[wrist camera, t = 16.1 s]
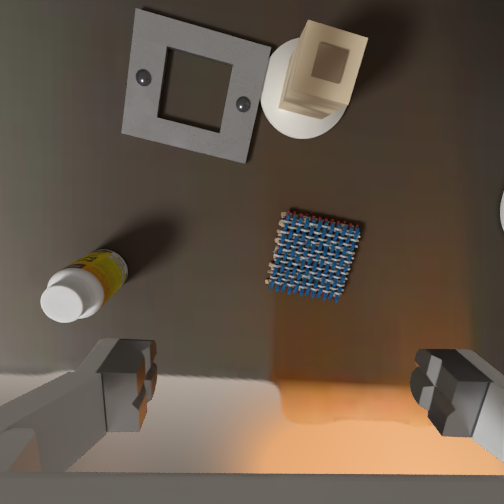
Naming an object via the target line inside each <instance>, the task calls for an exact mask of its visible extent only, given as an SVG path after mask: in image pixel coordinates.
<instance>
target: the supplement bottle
mask: <svg viewBox="0 0 504 504" xmlns="http://www.w3.org/2000/svg"><path fill="white" fill-rule="evenodd" d="M127 275H128V269H127V265H126V263H125V261H124V260H123V258H122V257H121V256H120V255H118V254H117V253H115V252H113V251H110V250H105V249H100V250H96V251H93V252H91V253H89V254H88V255H86V256H84V257H82V258H81V259H79V260H77V261H76V262H74V263H72V264H70V265H69V266H67V267H65V268H64V269H62V270H60V271H59V272H57V273H56V274H55V275H53V276H52V278H51V279H50V281H49V283H48V286H47V289H46V290H45V291H44V292H43V294H42V296H41V307H42V309H43V311H44V312H45V314H46V315H47V316H48V317H50V318H51V319H53V320H55V321H58V322H62V323H68V322H72V321H75V320H76V319H79V318H86V317H89V316H91V315H93V314H94V313H96V312H97V311H98V310H99V309H100V308H101V307H102V306H103V305H104V304H105V303H106V302H107V301H108V300H109V299H110V298H111V297H112V296H113V295H114V293H115V292H116V291H117V290H118V289H119V288H120V287H121V286H122V285H123V284H124V283H125V281H126V279H127Z"/></svg>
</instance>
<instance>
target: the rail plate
mask: <svg viewBox="0 0 504 504" xmlns="http://www.w3.org/2000/svg"><path fill="white" fill-rule="evenodd" d="M169 49H171V50H175V51H179V52H182V53H186V54H189V55H193V56H197V57H200V58H204V59H207V60H211V61H214V62H218V63H222V64H225V65H229V66H232V67H233V68H232V73H231V79H230V84H229V89H228V94H227V99H226V104H225V109H224V114H223V119H222V125H221V130H220V133H216V132H212V131H208V130H204V129H200V128H196V127H193V126H189V125H185V124H181V123H177V122H173V121H169V120H165V119H161V118H159V113H160V106H161V99H162V92H163V85H164V78H165V71H166V64H167V57H168V50H169ZM270 50H271V47H268V46H265V45H261V44H258V43H254V42H251V41H247V40H244V39H241V38H237V37H234V36H230V35H227V34H223V33H220V32H216V31H213V30H209V29H206V28H203V27H199V26H196V25H192V24H189V23H185V22H182V21H178V20H175V19H171V18H168V17H165V16H161V15H158V14H154V13H151V12H147V11H144V10H140V9H137V8H136V11H135V19H134V28H133V37H132V46H131V54H130V63H129V72H128V81H127V90H126V98H125V107H124V116H123V125H122V133H123V134H127V135H131V136H135V137H139V138H143V139H147V140H151V141H155V142H159V143H163V144H168V145H172V146H176V147H180V148H184V149H188V150H192V151H196V152H200V153H204V154H208V155H212V156H216V157H220V158H224V159H228V160H232V161H236V162H240V163H244V164H245V163H246V158H247V154H248V149H249V145H250V140H251V136H252V131H253V127H254V122H255V118H256V113H257V109H258V104H259V100H260V95H261V91H262V86H263V82H264V77H265V73H266V68H267V64H268V59H269V55H270Z"/></svg>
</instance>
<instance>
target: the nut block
mask: <svg viewBox="0 0 504 504" xmlns="http://www.w3.org/2000/svg"><path fill="white" fill-rule="evenodd" d="M367 41H368V38H367V37H363V36H360V35H357V34H353V33H350V32H347V31H344V30H340V29H337V28H334V27H330V26H327V25H324V24H320V23H317V22H314V21H311V20H308V21H307V23H306V26H305V28H304V30H303V32H302V34H301V36H300V38H299V40H298V42H297V45H296V47H295V49H294V51H293V53H292V55H291V57H290V60H289V64H288V69H287V73H286V77H285V81H284V85H283V89H282V94H281V98H280V102H279V106H278V108H279V109H283V110H286V111H290V112H294V113H298V114H301V115H305V116H309V117H312V118H316V119H320V120H321V119H323V118H325V117H327V116H329V115H331V114H333V113H334V112H336V111H338V110H340V109H342V108H344V107H346V106H347V105H349V101H350V98H351V94H352V91H353V88H354V84H355V81H356V78H357V74H358V71H359V68H360V64H361V61H362V57H363V54H364V51H365V47H366V44H367Z"/></svg>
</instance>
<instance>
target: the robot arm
mask: <svg viewBox="0 0 504 504" xmlns="http://www.w3.org/2000/svg"><path fill="white" fill-rule="evenodd" d="M500 218H501V224H502V227H503V230H504V193H503V196H502V200H501V206H500ZM156 353H157V352H156V342H155V341H154V340H139V339H120V338H103V339H101V340H100V341H99V342H98V343H97V344H96V346H95V347H94V348H93V349H92V351H91V352H90V353H89V354H88V356H87V357H86V358H85V359H84V361H83V362H82V363H81V364H80V366H79V367H78V368H77V369H76V371H75V372H68V373H66V374H64V375H62V376H60V377H58V378H56V379H54V380H52V381H50V382H48V383H46V384H44V385H42V386H40V387H38V388H36V389H34V390H32V391H30V392H28V393H26V394H24V395H22V396H20V397H18V398H16V399H14V400H12V401H10V402H8V403H6V404H4V405H2V406H0V504H504V475H401V474H396V475H395V474H243V473H232V474H231V473H114V472H112V473H111V472H108V473H107V472H106V473H105V472H65V471H66V470H67V469H68V468H69V467H70V466H72V465H73V464H74V463H75V462H76V461H77V460H78V459H79V458H80V457H81V456H83V455H84V454H85V453H86V452H87V451H88V450H89V449H90V448H91V447H92V446H94V445H95V444H96V443H97V442H98V441H99V440H100V439H101V438H102V437H104V436H105V435H106V432H139V431H140V429H141V427H142V424H143V421H144V419H145V416H146V413H147V403H148V402H149V401H150V400H152V397H153V394H154V391H155V386H156V381H157V365H156V364H155V363H154V362H153V360H154V358H155V356H156ZM415 362H416V364H417V366H418V367H417V368H416V369H415V370H414V371H413V372H412V373H411V378H410V388H411V392H412V395H413V397H414V399H415V400H416V402H417V403H418V405H420V406H421V407H423V408H424V409H426V410H427V411H428V418H429V419H430V421H431V422H432V423H433V425H434V426H435V427H436V429H437V430H438V431H439V433H440V434H441V435H442V436H451V437H472V439H473V440H474V441H475V442H477V443H478V444H479V445H481V446H482V447H483V448H485V449H486V450H487V451H489V452H490V453H491V454H493V455H494V456H495V457H497V458H498V459H499V460H501V461H502V462H503V463H504V375H502V374H501V373H500V372H499V371H497V370H496V369H495V368H494V367H492V366H491V365H490V364H489V363H487V362H486V361H485V360H484V359H482V358H481V357H480V356H479V355H477V354H476V353H475V352H474V351H472V350H469V349H419V350H418V352H417V353H416V356H415Z"/></svg>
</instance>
